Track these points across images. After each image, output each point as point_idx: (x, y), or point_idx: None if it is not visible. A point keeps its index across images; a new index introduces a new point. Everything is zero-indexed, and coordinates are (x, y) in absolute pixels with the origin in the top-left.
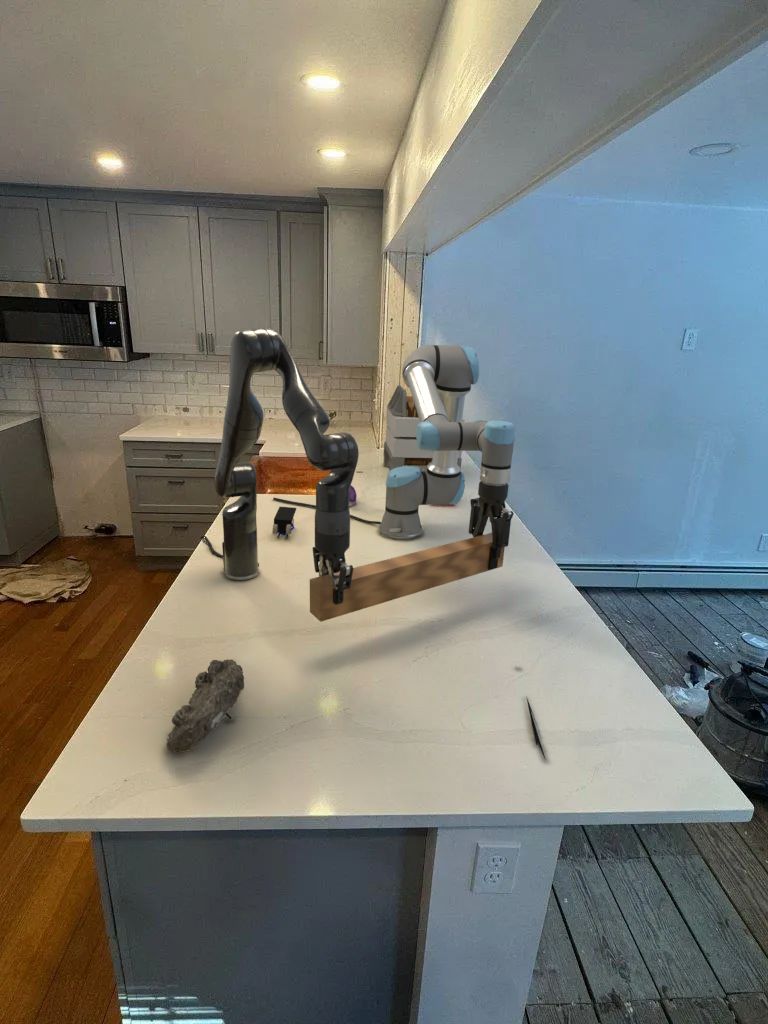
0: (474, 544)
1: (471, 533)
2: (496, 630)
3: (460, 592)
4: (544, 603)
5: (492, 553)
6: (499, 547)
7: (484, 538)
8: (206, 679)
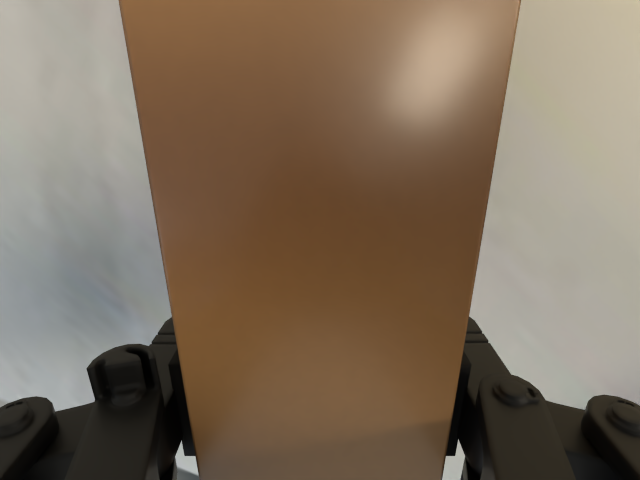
0: (228, 148)
1: (585, 409)
2: (80, 70)
3: None
4: None
5: None
6: (35, 400)
7: (340, 427)
8: None
